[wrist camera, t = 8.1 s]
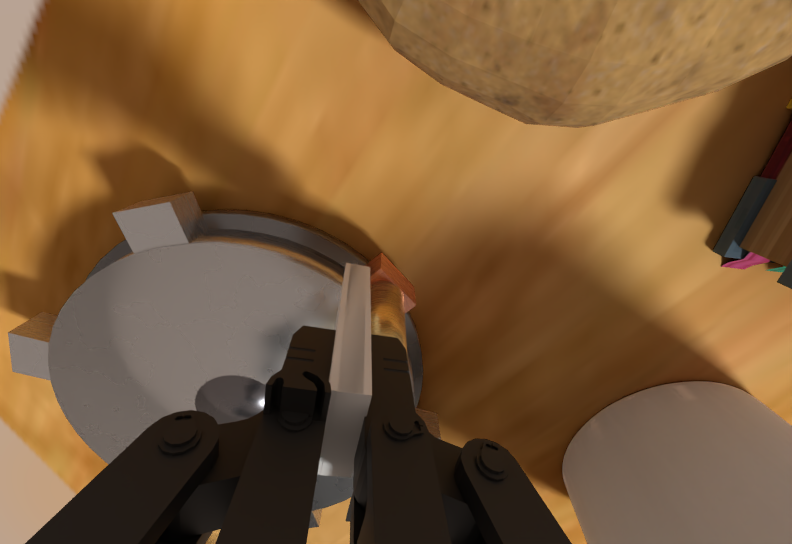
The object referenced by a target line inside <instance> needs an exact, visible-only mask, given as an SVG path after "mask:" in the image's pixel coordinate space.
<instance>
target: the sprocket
mask: <svg viewBox="0 0 792 544" xmlns="http://www.w3.org/2000/svg"><path fill="white" fill-rule="evenodd" d="M112 214H113V216H114V217H115V219H116V221H117V223H118V225H119V227H120V229H121V230H122V232H123V234H124V236H125V238H126V240H127V242H128V244H129V245H130V247H131V249H132V252H131V253H129V254H127V255H126V256H124V257H122V258H120V259H119V260H117V261H115V262H114V263H112V264H110V265H109V266H107V267H105V268H104V269H102V270H101V271H99V272H97V273H96V274H94V275H93V276H91V277H90V278H88V279H87V280H86V281H85V282H84V283H83V284H82V285H81V286H80V287H79V288H77V289H76V290H75V291H74V292H73V294H72V295H71V296H70V298H69V299H68V300H67V302H66V303H65V304H64V306H63V307H62V308H61V310H60V312H59V315H58V316H57V315H53V314H49V313H45V312H41V313H39V314H38V315H36V316H34V317H33V318H31V319H30V320H28V321H26V322H25V323H23V324H21V325H20V326H18V327H16V328H15V329H13V330H12V331H10V332H8V337H9V345H10V354H11V362H12V370H13V372H16V373H21V374H25V375H29V376H34V377H38V378H42V379H47V380H51V383H52V386H53V389H54V392H55V395H56V398H57V401H58V403H59V405H60V407H61V409H62V411H63V413H64V414H65V416H66V418H67V419H68V421H69V422H70V424H71V425H72V427H73V428H74V429H75V431H76V432H77V434H78V435H79V436H80V437H81V438H82V439H83V440H84V442H85V443H86V444H87V445H88V446H89V447H90V448H91V449H92V450H93V451H94V452H95V453H96V454H97V455H99V456H100V457H101V458H102V459H103V460H104V461H105V462H106V463H108V464H110V463H111V462H112V461H113V460H114V459H115V458H116V457H117V456H118V455H119V454H120V453H122V452H123V451H124V450H125V449H126V448H127V447H128V446H129V445H130V444H131V443H132V442H133V441H134V440H135V439H136V438H137V437H138V436H139V435H141V434H142V433H143V432H144V431H145V430H146V429H147V428H148V427H149V426H151V425H152V424H153V423H155V422H156V421H158V420H159V419H160V418H162V417H165V416H167V415H170V414H172V413H175V412H180V411H188V410H194V411H200V412H205V413H207V414H208V415H210V416H212V417H213V418H214V419H215V420H216V422H217V424H223V423H229V422H236V421H240V420H244V419H248V418H250V417H252V416H254V415H257V414H258V413H259V412H261V411H262V410H263V409H264V398H265V387H266V383H267V382H268V380H269V379H270V377H271V376H272V375H274V374H275V373H277V372H279V371H280V370H282V367H283V364H284V361H285V359H286V355H287V351H288V349H289V345H290V342H291V339H292V336H293V334H294V333H295V332H296V331H297V330H299V329H300V328H301V327H302V326H303V325H304V326H311V327H318V328H325V329H332V330H334V329H335V322H336V317H337V311H338V306H339V300H340V294H341V289H342V283H343V278H344V272H345V267H344V266H342V265H341V264H339V263H338V262H336V261H335V260H333V259H331V258H329V257H327V256H325V255H323V254H321V253H319V252H317V251H316V250H314V249H312V248H309V247H306V246H304V245H301V244H299V243H296V242H293V241H291V240H288V239H284V238H280V237H276V236H272V235H268V234H265V233H259V232H252V231H244V230H237V229H209V228H208V226H207V224H206V221H205V219H204V217H203V214H202V212H201V210H200V207H199V205H198V203H197V200H196V198H195V196H194V193H193V191H191V192H186V193H181V194H176V195H171V196H165V197H160V198H155V199H150V200H145V201H140V202H138V203H135V204H133V205H130V206H128V207H125V208H123V209H121V210H118V211H116V212H113V213H112ZM365 266H367V267H370V293H371V334H373V335H380V336H388V337H395V338H398V339H399V340H400V341H401V343H402V344H403V346H404V347H405V348H406V352H407V359H408V365H409V374H410V378H411V385H412V392H413V398H414V405H415V395H414V383H413V372H412V363H411V356H410V353H409V349H408V346H407V342H406V326H405V313H406V312H408V311H409V310H410V309H412V308H413V307H415V306H416V300H415V292H414V286H413V285H412V284H411V283H410V282H409V281H408V280H407V279H406V278H405V277H404V276H403V274H402V273H401V272H400V271H399V270H398V269H397V268H396V267H395V266H394V265H393V264H392V263H391V262H390V261H389V260H388V259H387V257H386V256H385V255H384V254H383V253H382V252H381V253H380V254H379V255H378V256H376V257H375V258H374V259H373V260H371V261H370V262H369V263H368V264H366V265H365ZM415 411H416V413H417V414H418V415H419V416H420V417H421V418H422V419H423V420H424V422H425V424H426V426H427V429H428V431H429V433H431V434H432V435H433V436H435V437H437V438H438V439H441V436H440V430H439V423H438V416H437V413H435V412H431V411H427V410H423V409H419V408H415ZM353 473H354V468H353V472H352V476H351V478H350V477H338V476H325V475H319V474H317V480H316V486H315V492H314V498H313V505H312V511H311V517H310V523H309V528H313V527H319V524H320V518H321V512H322V508H325V507H329V506H331V505H334V504H337V503H339V502H342V501H344V500H346V499H348V498H350V497H352V493H353Z"/></svg>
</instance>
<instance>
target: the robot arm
mask: <svg viewBox="0 0 792 544" xmlns="http://www.w3.org/2000/svg"><path fill="white" fill-rule="evenodd" d="M353 468H354V473H353V493H352V497H351V501H350V505H349V509H348V513H347V517H346V521H350V544H572V543H571V542H570V540H569V539H568V537H567V536H566V534H565V533H564V531H563V530H562V528H561V527H560V525H559V524H558V522H557V521H556V519H555V518H554V516H553V515H552V513H551V512H550V510H549V509H548V507H547V506H546V504H545V503H544V501H543V500H542V498H541V497H540V495H539V494H538V492H537V491H536V489H535V488H534V486H533V485H532V483H531V482H530V480H529V479H528V477H527V476H526V474H525V473H524V471H523V470H522V468H521V467H520V465H519V464H518V462H517V461H516V460H515V458H514V457H513V456H512V455H511V454H510V453H509V452H508V450H506V449H505V448H503V447H502V446H500V445H499V444H498V443H495V442H493V441H490V440H487V439H473V440H471V441H468V442H467V443H466V444H465V446H464V447H463V448H460V447H458V446H455V445H452V444H450V443H447V442H445V441H442V440H440V439H438V438H437V437H435V436H433V435H432V434H431V433H429V431H428V429H427V426H426V424H425V422H424V420H423V419H422V418H421V417H420V416H419V415H418V414H417V413H416V411H415V405H414V398H413V392H412V385H411V378H410V374H409V365H408V359H407V352H406V348H405V347H404V346H403V344H402V343H401V341H400V340H399V339H398V338H395V337H388V336H380V335H373V334H371V293H370V267H367V266H362V265H356V264H350V263H346V266H345V272H344V278H343V283H342V289H341V294H340V300H339V306H338V311H337V317H336V322H335V329H334V330H332V329H325V328H318V327H311V326H304V325H303V326H302V327H301V328H300V329H299V330H297V331H296V332H295V333H294V334H293V336H292V339H291V342H290V345H289V349H288V351H287V355H286V359H285V361H284V364H283V367H282V370H280V371H279V372H277V373H275V374H274V375H272V376H271V377H270V379H269V380H268V382H267V383H266V387H265V398H264V409H263V410H262V411H261V412H259V413H258V414H257V415H254V416H252V417H250V418H248V419H244V420H240V421H236V422H229V423H223V424H217V422H216V420H215V419H214V418H213V417H212V416H210V415H208V414H207V413H205V412H200V411H194V410H188V411H180V412H175V413H172V414H170V415H167V416H165V417H162V418H160V419H159V420H158V421H156V422H155V423H153V424H152V425H151V426H149V427H148V428H147V429H146V430H145V431H144V432H143V433H142V434H141V435H139V436H138V437H137V438H136V439H135V440H134V441H133V442H132V443H131V444H130V445H129V446H128V447H127V448H126V449H125V450H124V451H123V452H122V453H120V454H119V455H118V456H117V457H116V458H115V459H114V460H113V461H112V462H111V463H110V464H109V465H108V466H107V467H106V468H105V469H104V470H102V471H101V472H100V473H99V474H98V475H97V476H96V477H95V478H94V479H93V480H92V481H91V482H90V483H89V484H88V485H87V486H86V487H84V488H83V489H82V490H81V491H80V492H79V493H78V494H77V495H76V496H75V497H74V498H73V499H72V500H71V501H70V502H69V503H68V504H67V505H65V507H63V508H62V509H61V510H60V511H59V512H58V513H57V514H56V515H55V516H54V517H53V518H52V519H51V520H50V521H48V522H47V523H46V524H45V525H44V526H43V527H42V528H41V529H40V530H39V531H38V532H37V533H36V534H35V535H34V536H33V537H32V538H31V539H29V540H28V541H27V542H26V543H25V544H205V543H206V541H207V540H208V538H209V537H210V535H211V533H212V531H215V530H218V529H221V530H220V533H219V536H218V539H217V541H216V544H306V542H307V535H308V529H309V523H310V517H311V511H312V505H313V498H314V492H315V486H316V480H317V474H319V475H325V476H338V477H350V478H351V476H352V472H353Z"/></svg>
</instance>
